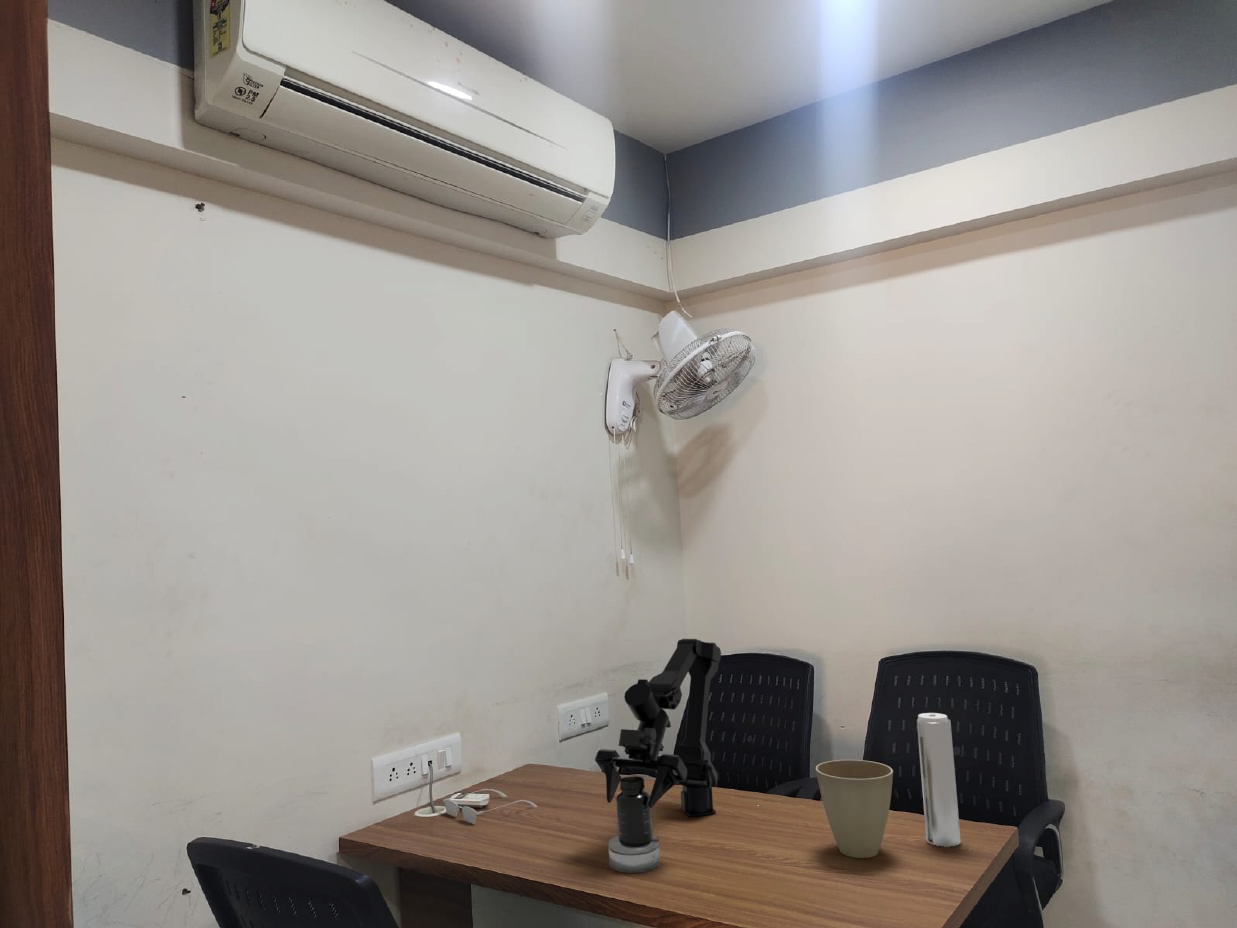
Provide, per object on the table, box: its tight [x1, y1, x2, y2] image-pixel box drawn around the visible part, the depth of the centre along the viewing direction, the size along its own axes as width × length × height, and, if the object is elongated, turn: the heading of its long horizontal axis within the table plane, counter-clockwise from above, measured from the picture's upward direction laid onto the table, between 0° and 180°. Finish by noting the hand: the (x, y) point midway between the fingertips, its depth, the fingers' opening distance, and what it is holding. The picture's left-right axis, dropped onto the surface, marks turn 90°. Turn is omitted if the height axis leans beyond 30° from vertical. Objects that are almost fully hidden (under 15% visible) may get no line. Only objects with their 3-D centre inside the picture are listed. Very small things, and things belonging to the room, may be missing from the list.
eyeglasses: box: [443, 788, 538, 825], centre depth 202 cm, size 15×18×4 cm
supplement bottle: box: [615, 775, 654, 847], centre depth 164 cm, size 7×7×12 cm
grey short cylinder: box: [607, 835, 661, 874], centre depth 164 cm, size 10×10×4 cm
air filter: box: [916, 712, 962, 848], centre depth 168 cm, size 6×6×25 cm
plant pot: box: [815, 759, 894, 859], centre depth 165 cm, size 15×15×16 cm
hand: (628, 804), depth 163 cm, fingers open, 9 cm apart
